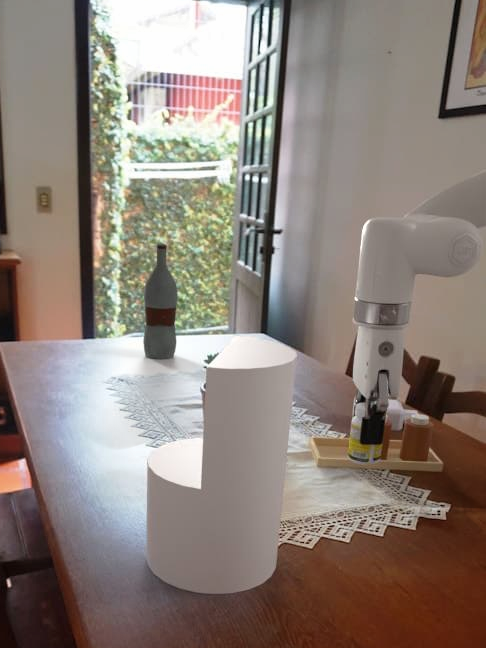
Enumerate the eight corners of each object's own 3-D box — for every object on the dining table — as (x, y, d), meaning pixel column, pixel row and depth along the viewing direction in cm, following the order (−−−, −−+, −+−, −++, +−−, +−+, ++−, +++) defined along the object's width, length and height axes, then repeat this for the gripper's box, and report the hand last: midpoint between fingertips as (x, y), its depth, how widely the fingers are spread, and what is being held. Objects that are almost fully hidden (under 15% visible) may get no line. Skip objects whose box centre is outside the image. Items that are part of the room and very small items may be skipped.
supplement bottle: (372, 453, 105) (379, 400, 102) (385, 465, 101) (392, 410, 97) (342, 454, 104) (348, 401, 101) (354, 466, 100) (360, 412, 97)
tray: (423, 450, 131) (425, 441, 131) (441, 474, 121) (443, 463, 120) (308, 446, 131) (309, 436, 130) (316, 468, 121) (318, 458, 120)
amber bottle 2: (422, 454, 128) (430, 412, 125) (430, 464, 124) (438, 421, 120) (396, 453, 128) (403, 411, 125) (403, 463, 124) (410, 420, 120)
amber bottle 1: (383, 452, 128) (389, 411, 125) (389, 462, 124) (396, 419, 120) (356, 451, 128) (362, 409, 125) (362, 461, 124) (368, 418, 120)
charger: (428, 436, 139) (354, 429, 141) (422, 421, 148) (351, 415, 150) (432, 414, 138) (357, 407, 139) (425, 400, 146) (354, 394, 148)
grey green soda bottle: (162, 350, 199) (164, 242, 187) (182, 356, 193) (186, 245, 181) (136, 354, 193) (137, 243, 181) (156, 361, 187) (158, 246, 175)
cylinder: (283, 537, 97) (303, 341, 86) (266, 604, 81) (288, 375, 70) (166, 520, 100) (171, 329, 89) (128, 581, 85) (128, 359, 74)
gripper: (426, 326, 86) (407, 459, 93) (393, 303, 102) (378, 418, 109) (367, 325, 86) (352, 458, 93) (343, 302, 102) (331, 418, 109)
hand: (366, 435), depth 101 cm, fingers closed on supplement bottle, 4 cm apart
